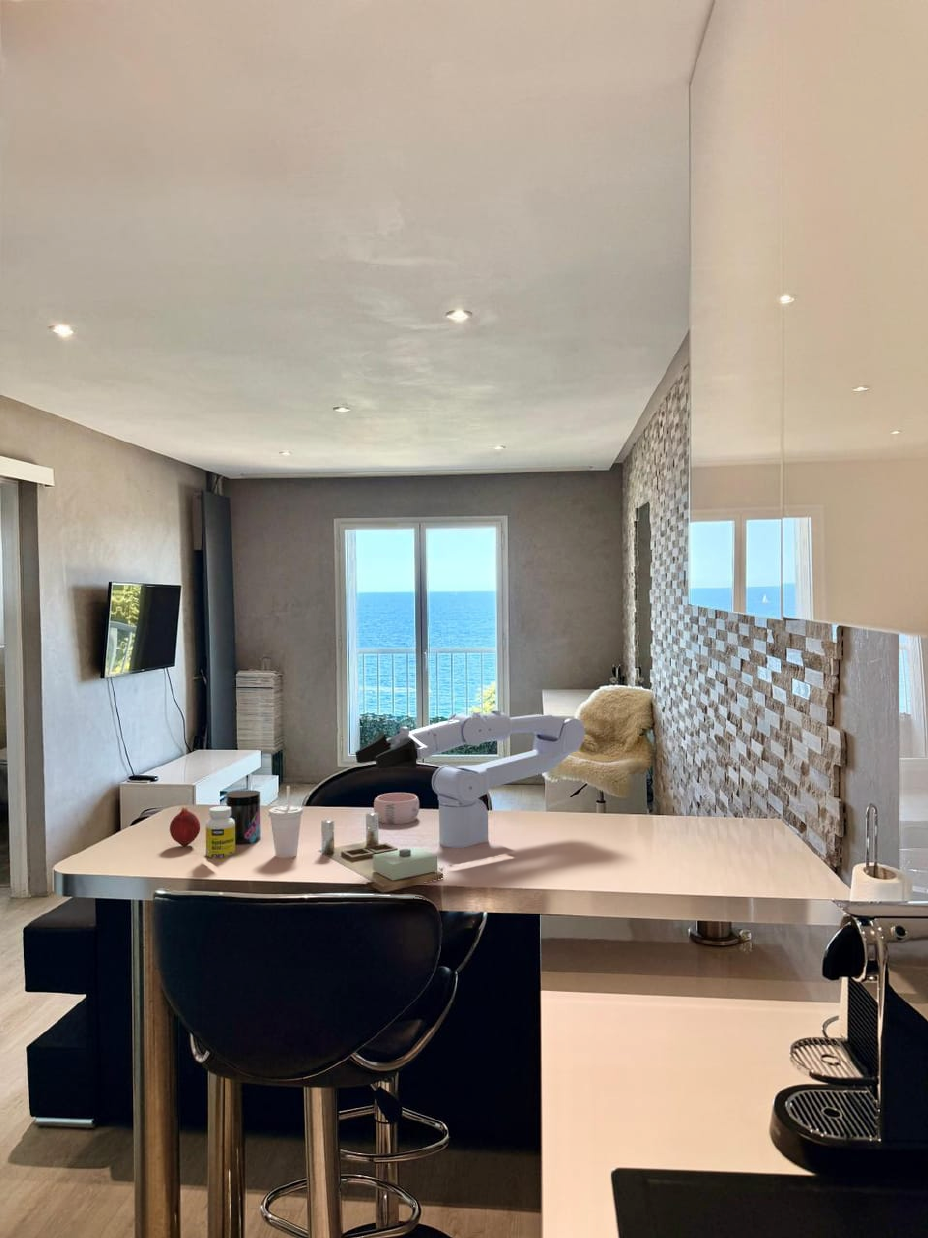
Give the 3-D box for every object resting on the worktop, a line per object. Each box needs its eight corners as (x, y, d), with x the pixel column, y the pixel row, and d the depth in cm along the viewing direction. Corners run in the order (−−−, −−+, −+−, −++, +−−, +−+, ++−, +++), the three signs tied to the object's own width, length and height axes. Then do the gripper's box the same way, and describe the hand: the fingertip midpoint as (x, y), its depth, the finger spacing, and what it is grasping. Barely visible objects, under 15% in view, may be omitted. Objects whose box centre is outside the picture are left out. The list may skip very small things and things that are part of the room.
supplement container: (240, 851, 165) (239, 799, 165) (219, 846, 170) (218, 794, 169) (267, 844, 171) (267, 793, 170) (247, 838, 175) (246, 788, 175)
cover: (417, 861, 153) (416, 842, 153) (437, 870, 148) (437, 851, 147) (373, 870, 148) (372, 850, 148) (392, 880, 142) (392, 860, 142)
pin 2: (374, 842, 167) (374, 812, 167) (380, 845, 165) (380, 814, 165) (364, 844, 166) (363, 814, 166) (369, 847, 164) (369, 816, 164)
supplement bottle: (208, 865, 157) (208, 813, 157) (203, 857, 162) (202, 807, 161) (238, 861, 159) (237, 809, 159) (232, 853, 164) (231, 803, 164)
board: (373, 845, 169) (373, 836, 169) (443, 879, 147) (442, 869, 147) (317, 855, 162) (317, 846, 162) (382, 892, 140) (382, 882, 140)
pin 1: (331, 850, 162) (330, 819, 162) (336, 853, 160) (336, 821, 160) (319, 852, 161) (319, 821, 161) (324, 855, 159) (324, 823, 159)
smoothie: (295, 866, 156) (294, 790, 155) (263, 864, 157) (262, 789, 157) (308, 856, 162) (307, 783, 162) (277, 854, 163) (276, 782, 163)
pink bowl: (414, 830, 180) (414, 803, 180) (369, 829, 181) (369, 802, 181) (424, 816, 192) (424, 790, 192) (382, 815, 193) (381, 790, 193)
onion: (205, 846, 170) (205, 806, 169) (179, 852, 165) (178, 811, 165) (191, 840, 174) (190, 802, 173) (164, 846, 169) (164, 807, 169)
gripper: (405, 718, 168) (345, 735, 161) (445, 724, 156) (382, 743, 149) (410, 752, 169) (351, 770, 161) (451, 761, 157) (388, 781, 149)
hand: (366, 760), depth 155 cm, fingers open, 7 cm apart
